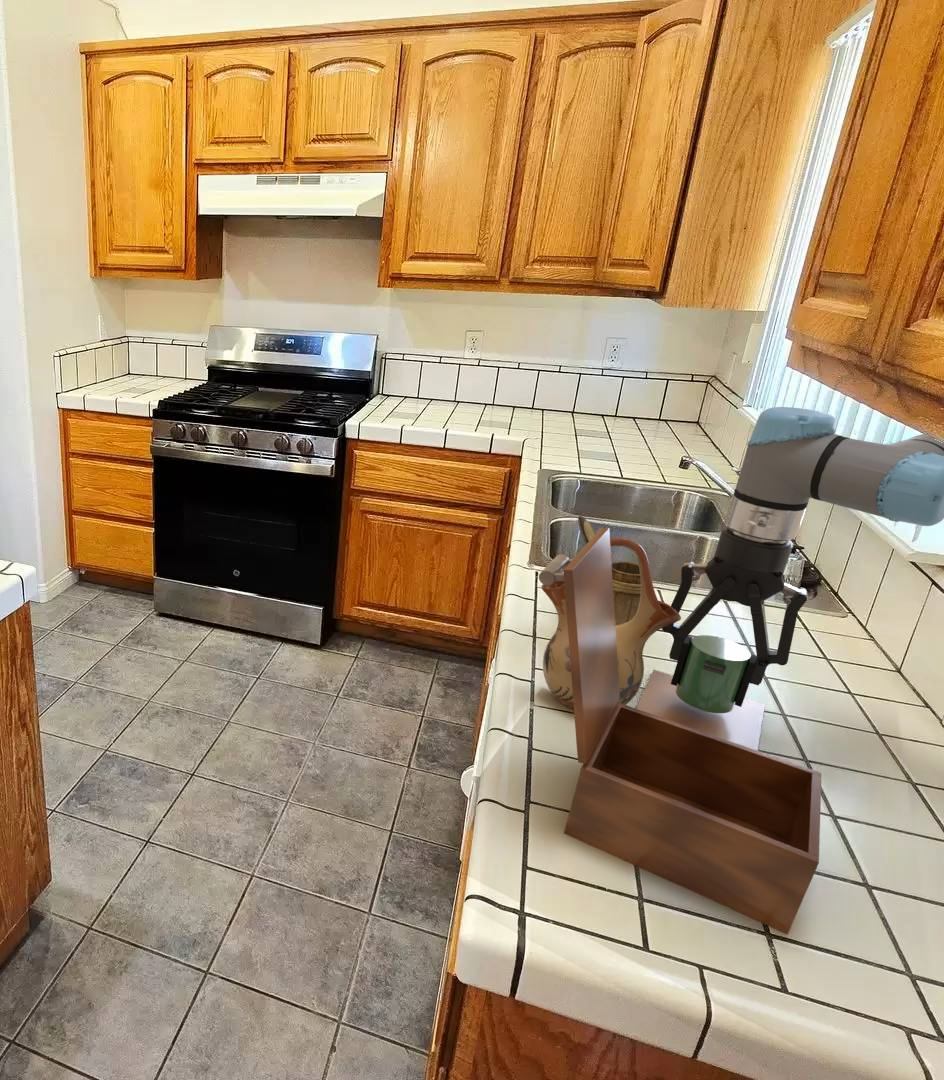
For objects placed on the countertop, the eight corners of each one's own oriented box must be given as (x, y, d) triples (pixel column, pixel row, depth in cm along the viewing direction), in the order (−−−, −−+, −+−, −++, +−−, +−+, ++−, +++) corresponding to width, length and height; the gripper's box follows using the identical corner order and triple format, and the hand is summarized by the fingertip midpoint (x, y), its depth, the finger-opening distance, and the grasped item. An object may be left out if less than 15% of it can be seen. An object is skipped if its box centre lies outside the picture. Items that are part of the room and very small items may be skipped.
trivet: (763, 708, 105) (765, 704, 104) (756, 757, 94) (757, 753, 94) (652, 672, 112) (653, 669, 112) (633, 714, 102) (634, 710, 102)
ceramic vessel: (649, 709, 103) (699, 540, 94) (647, 744, 96) (701, 564, 86) (524, 674, 110) (559, 514, 101) (513, 704, 103) (550, 534, 94)
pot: (736, 693, 104) (753, 642, 101) (729, 724, 97) (747, 671, 94) (681, 675, 108) (696, 626, 105) (670, 704, 101) (686, 652, 98)
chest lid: (609, 527, 83) (564, 527, 86) (572, 570, 71) (522, 568, 74) (620, 697, 87) (577, 692, 90) (586, 764, 76) (538, 755, 79)
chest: (792, 843, 81) (821, 772, 77) (785, 940, 69) (819, 862, 65) (597, 765, 91) (615, 700, 88) (562, 838, 80) (581, 767, 76)
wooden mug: (562, 604, 133) (584, 508, 126) (647, 627, 126) (675, 527, 119) (549, 622, 126) (572, 522, 120) (639, 648, 119) (668, 543, 113)
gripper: (664, 521, 96) (621, 676, 105) (858, 564, 85) (793, 732, 94) (673, 507, 102) (632, 655, 110) (857, 545, 91) (795, 706, 100)
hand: (706, 690), depth 102 cm, fingers closed on pot, 7 cm apart
